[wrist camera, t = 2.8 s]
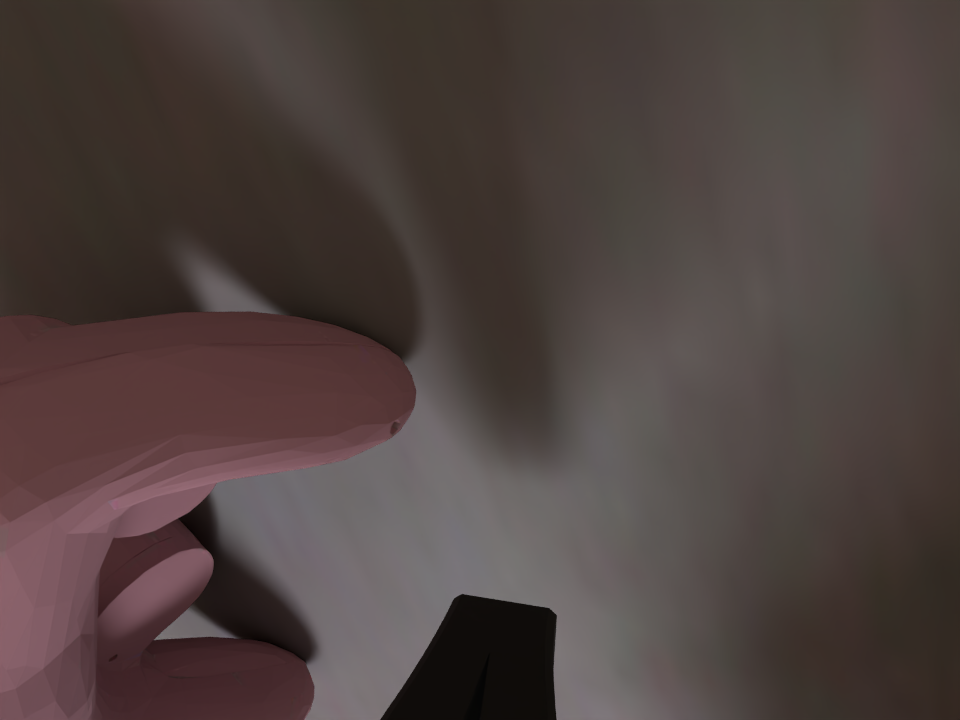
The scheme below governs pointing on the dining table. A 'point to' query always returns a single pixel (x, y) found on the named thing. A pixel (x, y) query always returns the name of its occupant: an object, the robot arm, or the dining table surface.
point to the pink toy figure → (158, 498)
